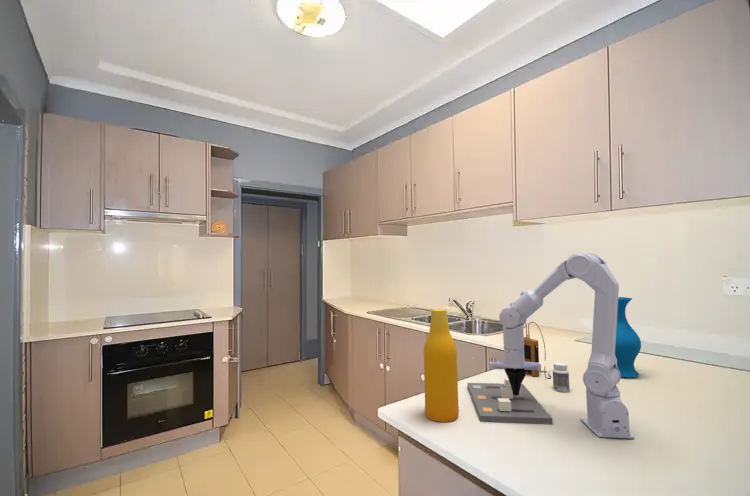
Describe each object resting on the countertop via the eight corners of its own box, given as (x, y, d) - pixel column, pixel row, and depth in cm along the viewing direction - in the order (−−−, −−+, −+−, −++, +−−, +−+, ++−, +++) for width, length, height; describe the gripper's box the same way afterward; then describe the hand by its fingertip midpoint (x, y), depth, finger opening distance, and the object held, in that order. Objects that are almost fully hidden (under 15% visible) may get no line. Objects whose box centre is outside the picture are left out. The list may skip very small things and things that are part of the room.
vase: (610, 378, 124) (606, 299, 125) (597, 368, 136) (593, 296, 138) (650, 380, 121) (645, 299, 123) (632, 370, 133) (628, 296, 135)
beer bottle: (463, 412, 98) (460, 308, 100) (452, 425, 90) (449, 313, 92) (432, 406, 103) (429, 307, 105) (419, 418, 95) (417, 311, 97)
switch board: (552, 424, 90) (552, 417, 90) (480, 421, 93) (480, 415, 93) (523, 388, 116) (522, 383, 116) (467, 387, 118) (467, 382, 118)
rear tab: (516, 388, 111) (515, 380, 112) (506, 388, 112) (506, 380, 112) (514, 385, 114) (513, 378, 114) (504, 385, 114) (504, 377, 114)
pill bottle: (571, 392, 112) (570, 366, 112) (555, 391, 113) (554, 365, 113) (566, 387, 116) (565, 361, 117) (551, 386, 117) (550, 361, 118)
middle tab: (512, 398, 103) (512, 390, 103) (502, 398, 103) (502, 389, 103) (510, 395, 105) (510, 387, 105) (500, 395, 106) (500, 387, 106)
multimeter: (562, 376, 128) (560, 321, 129) (542, 380, 124) (540, 323, 125) (531, 366, 141) (529, 316, 142) (512, 369, 138) (510, 318, 139)
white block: (511, 411, 94) (510, 401, 94) (499, 410, 95) (499, 401, 95) (509, 407, 97) (508, 398, 97) (497, 407, 97) (497, 398, 97)
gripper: (534, 345, 108) (536, 390, 107) (486, 344, 110) (487, 388, 109) (542, 350, 101) (544, 398, 100) (490, 350, 103) (492, 397, 102)
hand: (515, 394), depth 104 cm, fingers closed
